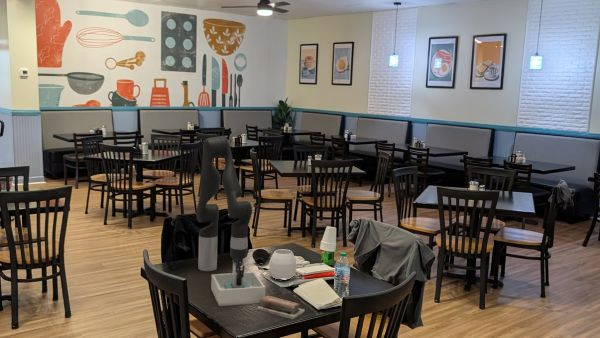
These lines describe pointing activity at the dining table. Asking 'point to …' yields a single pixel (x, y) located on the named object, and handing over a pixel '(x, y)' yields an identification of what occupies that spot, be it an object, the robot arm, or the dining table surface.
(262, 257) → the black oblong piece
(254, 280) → the walled box
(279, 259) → the white round vase
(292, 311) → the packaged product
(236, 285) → the grey upright block
